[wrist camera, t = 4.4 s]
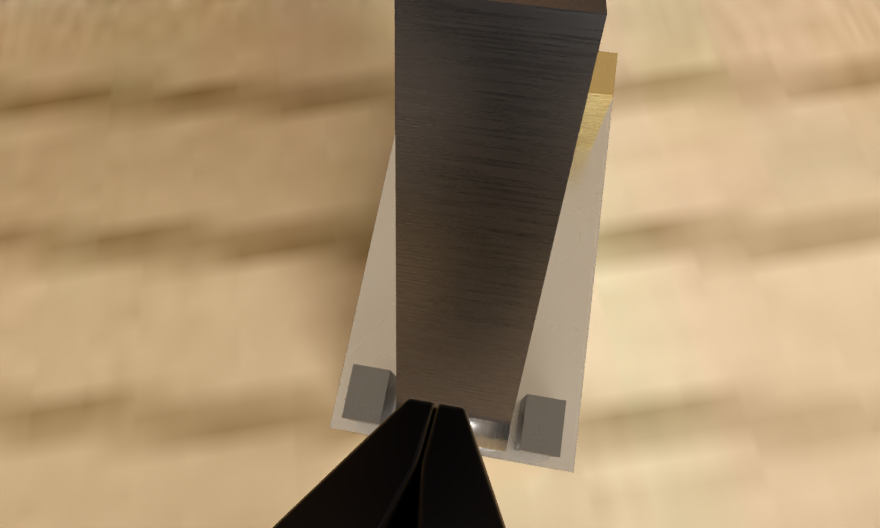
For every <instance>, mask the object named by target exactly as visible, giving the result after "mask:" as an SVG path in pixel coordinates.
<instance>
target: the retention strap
mask: <svg viewBox="0 0 880 528" xmlns="http://www.w3.org/2000/svg"><path fill="white" fill-rule="evenodd" d="M606 16H607V8H606V0H395V199H396V409H397V408H398V407H399V406H400V405H401V404H402V403H403V402H404V401H406V400H408V399H415V400H421V401H427V402H432V403H433V404H434V405H435V407H437V406H438V405H440V404H443V405H449V406H455V407H460V408H463V409H465V411H466V412H467V415H468V418H469V421H470V423H471V426H472V429H473V432H474V435H475V438H476V441H477V444H478V447H481V448H486V449H492V450H497V451H503V452H505V451H506V448H507V443H508V438H509V432H510V425H511V421H512V417H513V412H514V408H515V404H516V400H517V395H518V391H519V387H520V383H521V378H522V374H523V370H524V365H525V361H526V357H527V353H528V348H529V344H530V340H531V336H532V331H533V327H534V323H535V319H536V314H537V310H538V306H539V301H540V297H541V293H542V289H543V284H544V280H545V276H546V272H547V267H548V263H549V259H550V255H551V250H552V246H553V242H554V237H555V233H556V229H557V225H558V220H559V216H560V212H561V208H562V203H563V199H564V195H565V191H566V186H567V182H568V178H569V174H570V169H571V165H572V161H573V156H574V152H575V148H576V144H577V139H578V135H579V131H580V127H581V122H582V118H583V114H584V110H585V105H586V101H587V97H588V92H589V88H590V84H591V80H592V75H593V71H594V67H595V63H596V58H597V54H598V50H599V46H600V41H601V37H602V33H603V28H604V24H605V20H606ZM396 409H395V410H396Z"/></svg>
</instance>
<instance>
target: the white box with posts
mask: <svg viewBox="0 0 880 528" xmlns="http://www.w3.org/2000/svg"><path fill="white" fill-rule="evenodd" d="M617 54H618V53H609V52H601V51H598V54H597V58H596V63H595V67H594V71H593V75H592V80H591V84H590V88H589V92H588V97H587V101H586V105H585V110H584V114H583V118H582V122H581V127H580V131H579V135H578V139H577V144H576V148H575V152H574V156H573V161H572V165H571V169H570V174H569V178H568V182H567V186H566V191H565V195H564V199H563V203H562V208H561V212H560V216H559V220H558V225H557V229H556V233H555V237H554V242H553V246H552V250H551V255H550V259H549V263H548V267H547V272H546V276H545V280H544V284H543V289H542V293H541V297H540V301H539V306H538V310H537V314H536V319H535V323H534V327H533V331H532V336H531V340H530V344H529V348H528V353H527V357H526V361H525V365H524V370H523V374H522V378H521V383H520V387H519V391H518V395H517V400H516V404H515V408H514V412H513V417H512V421H511V425H510V432H509V438H508V443H507V448H506V451H505V452H503V451H497V450H492V449H486V448H481V447H479V450H480V453H481V456H486V457H492V458H497V459H503V460H508V461H513V462H519V463H524V464H530V465H535V466H540V467H546V468H551V469H557V470H562V471H568V472H573V473H574V463H575V454H576V444H577V435H578V425H579V416H580V406H581V397H582V387H583V378H584V368H585V358H586V349H587V339H588V330H589V320H590V311H591V301H592V292H593V282H594V273H595V263H596V254H597V244H598V234H599V225H600V215H601V206H602V196H603V187H604V177H605V168H606V158H607V149H608V139H609V129H610V120H611V110H612V101H613V92H614V82H615V73H616V63H617ZM395 409H396V199H395V136H394V140H393V145H392V149H391V154H390V159H389V163H388V168H387V172H386V177H385V181H384V186H383V190H382V195H381V199H380V204H379V208H378V213H377V217H376V222H375V226H374V231H373V235H372V240H371V244H370V249H369V253H368V258H367V262H366V267H365V271H364V276H363V280H362V285H361V289H360V294H359V298H358V303H357V307H356V312H355V316H354V321H353V325H352V330H351V334H350V339H349V343H348V348H347V352H346V357H345V361H344V366H343V370H342V375H341V379H340V384H339V389H338V393H337V398H336V402H335V407H334V411H333V416H332V420H331V425H330V428H334V429H340V430H345V431H351V432H356V433H361V434H367V435H370V434H371V433H372V432H373V431H374V430H375V429H376V428H377V427H378V426H379V425H380V424H381V423H382V422H384V421H385V420H386V419H387V418H388V417H389V416H390V415H391V414H392V413H393V412H394V411H395Z"/></svg>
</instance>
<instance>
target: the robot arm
mask: <svg viewBox="0 0 880 528" xmlns="http://www.w3.org/2000/svg"><path fill="white" fill-rule="evenodd" d="M273 528H506V527H505V524H504V521H503V518H502V515H501V512H500V509H499V506H498V503H497V500H496V498H495V495H494V492H493V489H492V486H491V483H490V480H489V477H488V474H487V471H486V468H485V465H484V462H483V459H482V456H481V453H480V450H479V447H478V444H477V441H476V438H475V435H474V432H473V429H472V426H471V423H470V421H469V418H468V415H467V412H466V411H465V409H463V408H460V407H455V406H449V405H443V404H440V405H438V406H437V407H435V405H434V404H433V403H432V402H427V401H421V400H415V399H408V400H406V401H404V402H403V403H402V404H401V405H400V406H399V407H398V408H397V409H396V410H395V411H394V412H393V413H392V414H391V415H390V416H389V417H388V418H387V419H386V420H385V421H384V422H382V423H381V424H380V425H379V426H378V427H377V428H376V429H375V430H374V431H373V432H372V433H371V434H370V435H369V436H368V437H367V438H366V439H365V440H364V441H363V442H362V443H360V444H359V445H358V446H357V447H356V448H355V449H354V450H353V451H352V452H351V453H350V454H349V455H348V456H347V457H346V458H345V459H344V460H343V461H342V462H341V463H340V464H339V465H337V466H336V467H335V468H334V469H333V470H332V471H331V472H330V473H329V474H328V475H327V476H326V477H325V478H324V479H323V480H322V481H321V482H320V483H319V484H318V485H317V486H316V487H314V488H313V489H312V490H311V491H310V492H309V493H308V494H307V495H306V496H305V497H304V498H303V499H302V500H301V501H300V502H299V503H298V504H297V505H296V506H295V507H294V508H293V509H291V510H290V511H289V512H288V513H287V514H286V515H285V516H284V517H283V518H282V519H281V520H280V521H279V522H278V523H277V524H276V525H275V526H274V527H273Z"/></svg>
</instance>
